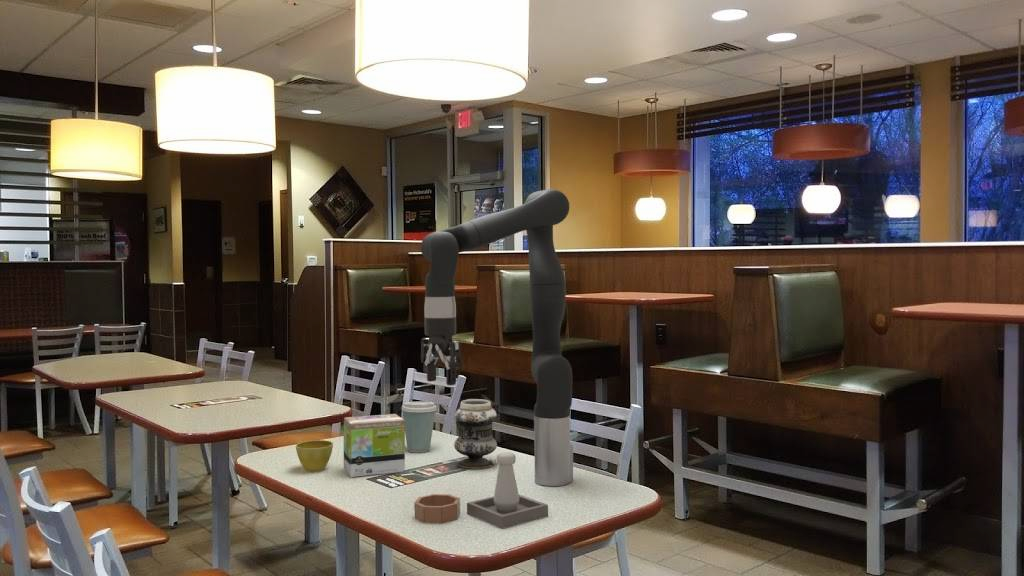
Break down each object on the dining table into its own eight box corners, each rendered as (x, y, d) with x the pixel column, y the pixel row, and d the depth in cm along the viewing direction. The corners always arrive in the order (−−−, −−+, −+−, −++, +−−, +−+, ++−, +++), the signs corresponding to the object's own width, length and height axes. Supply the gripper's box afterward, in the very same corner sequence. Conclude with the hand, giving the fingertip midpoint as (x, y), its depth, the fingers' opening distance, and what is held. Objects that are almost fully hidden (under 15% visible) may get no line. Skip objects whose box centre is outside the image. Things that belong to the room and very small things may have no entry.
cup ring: (443, 506, 183) (443, 491, 183) (467, 516, 175) (467, 501, 175) (408, 515, 177) (407, 499, 177) (431, 526, 169) (430, 510, 169)
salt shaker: (516, 514, 174) (516, 456, 174) (491, 513, 175) (490, 455, 175) (521, 506, 180) (520, 450, 179) (496, 505, 181) (496, 449, 180)
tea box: (350, 478, 208) (350, 423, 208) (343, 469, 217) (342, 416, 217) (405, 472, 214) (405, 418, 214) (396, 463, 223) (395, 412, 223)
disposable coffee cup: (402, 447, 243) (401, 399, 243) (437, 445, 245) (436, 398, 244) (401, 455, 233) (400, 405, 232) (437, 454, 234) (437, 404, 234)
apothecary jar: (492, 471, 214) (491, 405, 213) (449, 469, 216) (448, 404, 216) (500, 460, 226) (500, 398, 225) (460, 458, 228) (459, 397, 227)
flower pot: (337, 471, 215) (336, 445, 215) (300, 476, 211) (299, 450, 211) (328, 463, 224) (328, 438, 224) (292, 467, 220) (292, 442, 220)
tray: (511, 502, 186) (511, 491, 186) (548, 515, 175) (547, 504, 175) (467, 513, 178) (466, 502, 177) (502, 528, 167) (502, 516, 167)
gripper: (470, 316, 184) (471, 384, 185) (437, 313, 196) (438, 378, 196) (443, 317, 180) (444, 388, 180) (411, 315, 191) (412, 381, 191)
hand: (441, 382), depth 188 cm, fingers open, 8 cm apart
